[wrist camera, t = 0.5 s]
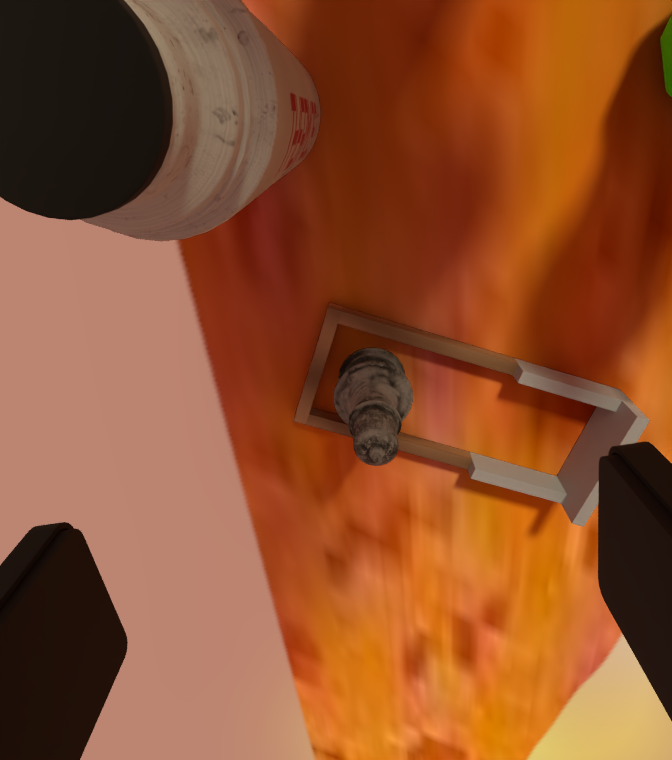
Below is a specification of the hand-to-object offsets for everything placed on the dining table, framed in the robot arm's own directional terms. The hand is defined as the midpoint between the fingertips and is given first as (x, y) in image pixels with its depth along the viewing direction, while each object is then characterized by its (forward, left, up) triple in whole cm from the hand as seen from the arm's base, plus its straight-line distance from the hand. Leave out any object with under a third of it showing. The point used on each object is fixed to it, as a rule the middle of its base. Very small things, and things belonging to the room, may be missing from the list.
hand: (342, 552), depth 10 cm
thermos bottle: (-5, -8, -33) cm, 34 cm away
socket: (+11, +19, -33) cm, 39 cm away
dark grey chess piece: (+11, +5, -33) cm, 35 cm away
